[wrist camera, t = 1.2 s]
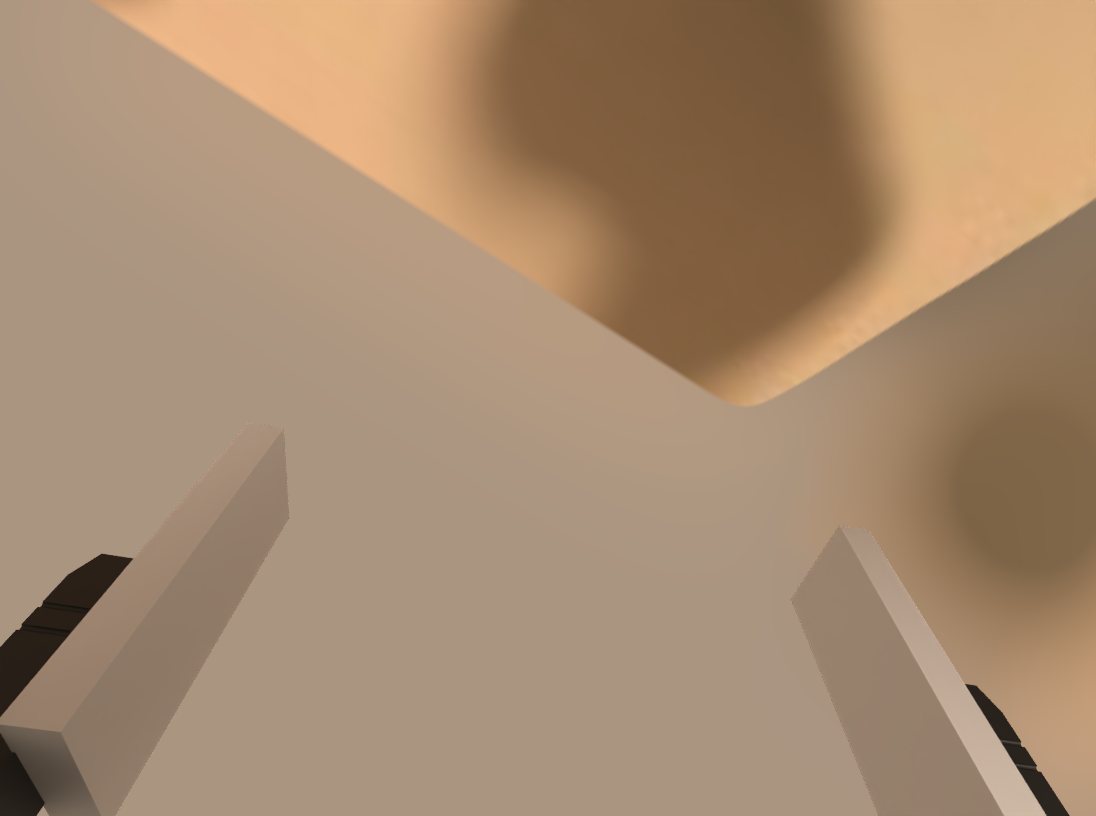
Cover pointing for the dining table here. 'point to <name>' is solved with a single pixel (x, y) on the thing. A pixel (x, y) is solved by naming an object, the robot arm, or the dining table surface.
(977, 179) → the dining table surface
